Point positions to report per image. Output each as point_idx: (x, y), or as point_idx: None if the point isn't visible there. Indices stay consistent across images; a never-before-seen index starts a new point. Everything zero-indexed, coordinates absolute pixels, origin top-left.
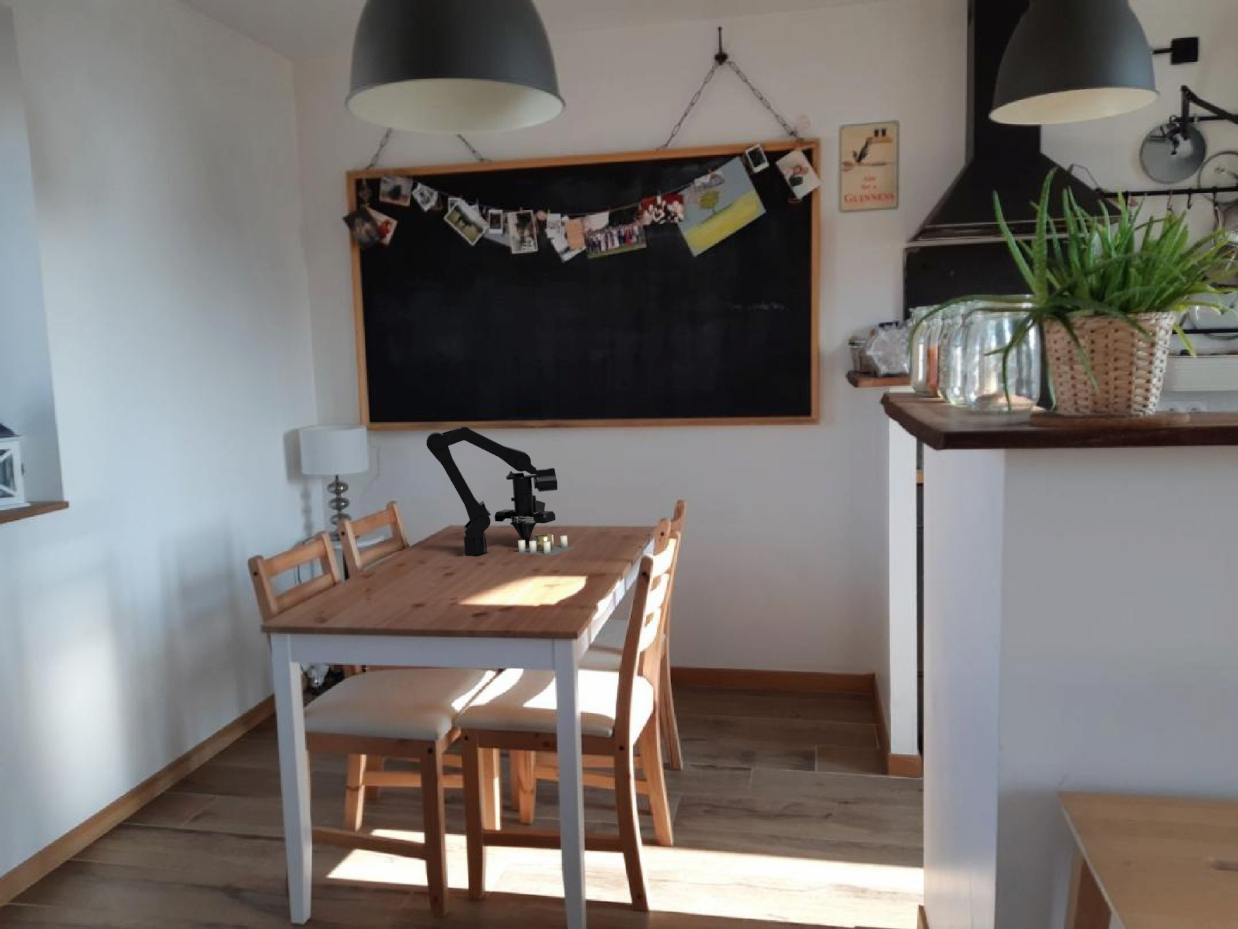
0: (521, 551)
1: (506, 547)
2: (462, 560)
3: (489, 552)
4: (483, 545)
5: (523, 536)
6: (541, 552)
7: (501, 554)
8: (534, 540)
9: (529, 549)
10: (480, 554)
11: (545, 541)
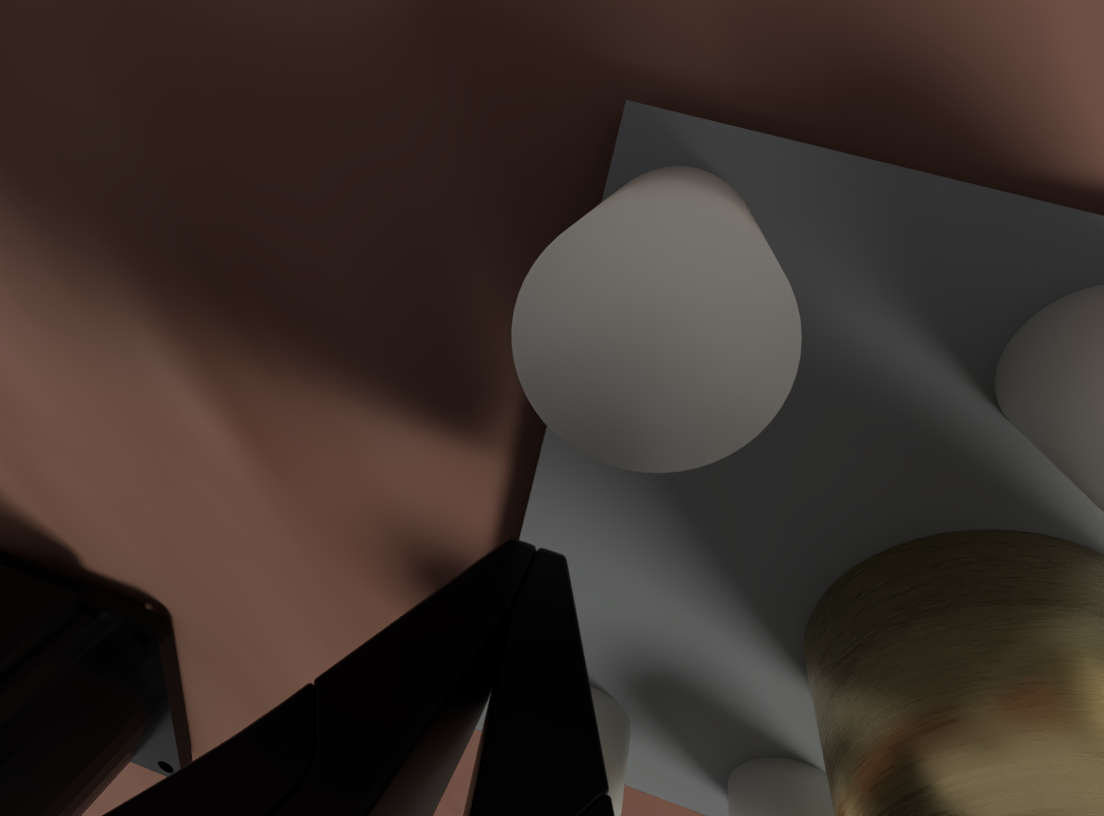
0: None
1: (49, 200)
2: (124, 783)
3: (158, 653)
4: (58, 803)
5: (436, 799)
6: None
7: (308, 649)
8: None
9: (628, 580)
10: (149, 734)
11: None
